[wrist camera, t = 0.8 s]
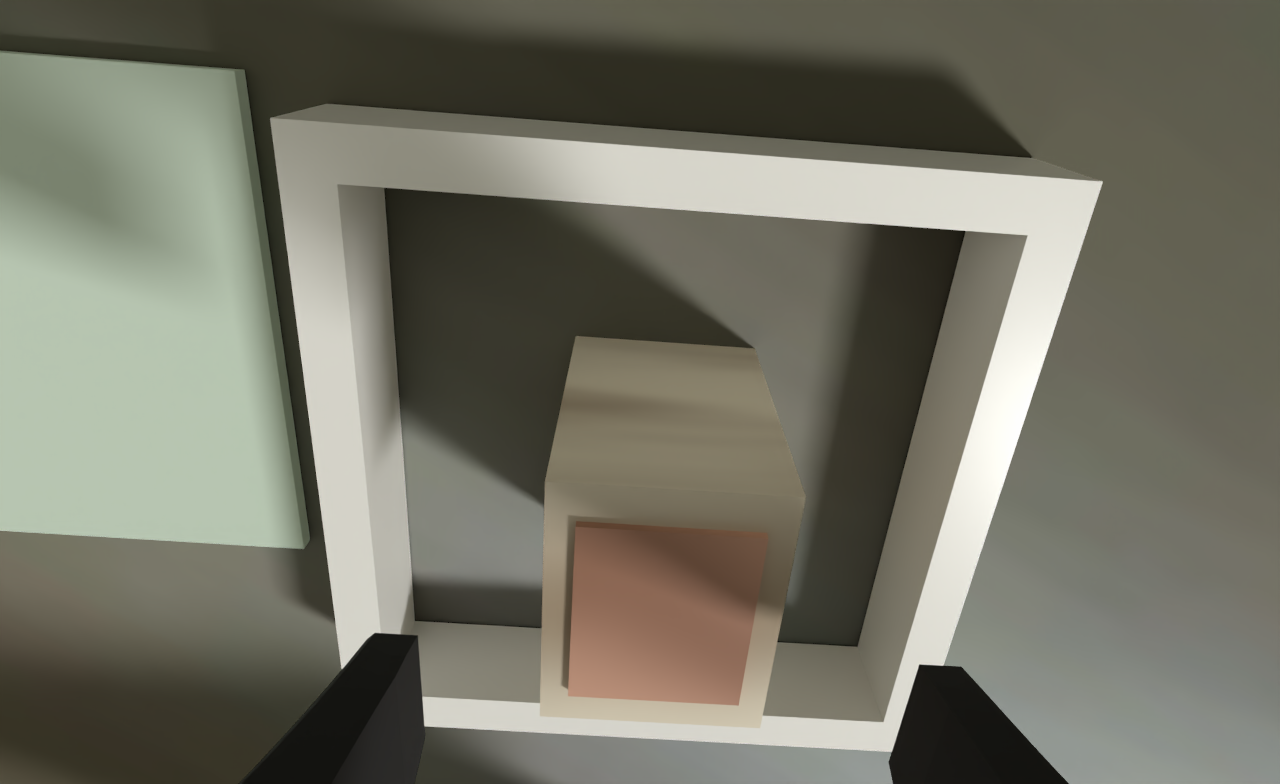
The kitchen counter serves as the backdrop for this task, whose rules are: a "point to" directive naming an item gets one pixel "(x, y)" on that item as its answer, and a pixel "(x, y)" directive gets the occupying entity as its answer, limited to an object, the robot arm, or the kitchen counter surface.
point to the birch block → (665, 536)
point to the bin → (685, 180)
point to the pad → (139, 309)
